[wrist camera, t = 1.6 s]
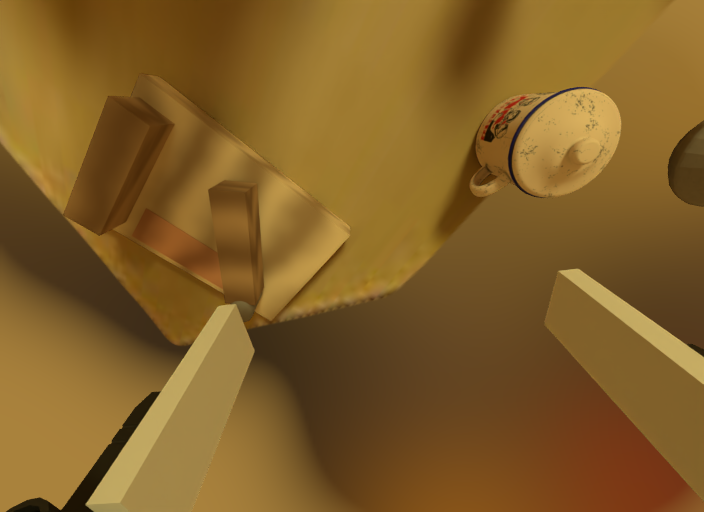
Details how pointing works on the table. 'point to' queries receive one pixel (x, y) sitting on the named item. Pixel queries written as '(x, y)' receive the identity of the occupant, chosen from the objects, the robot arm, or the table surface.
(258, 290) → the hinged leg
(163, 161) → the wooden board with block
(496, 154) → the teacup with lid
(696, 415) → the robot arm
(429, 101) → the table surface
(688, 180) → the coffee pot
